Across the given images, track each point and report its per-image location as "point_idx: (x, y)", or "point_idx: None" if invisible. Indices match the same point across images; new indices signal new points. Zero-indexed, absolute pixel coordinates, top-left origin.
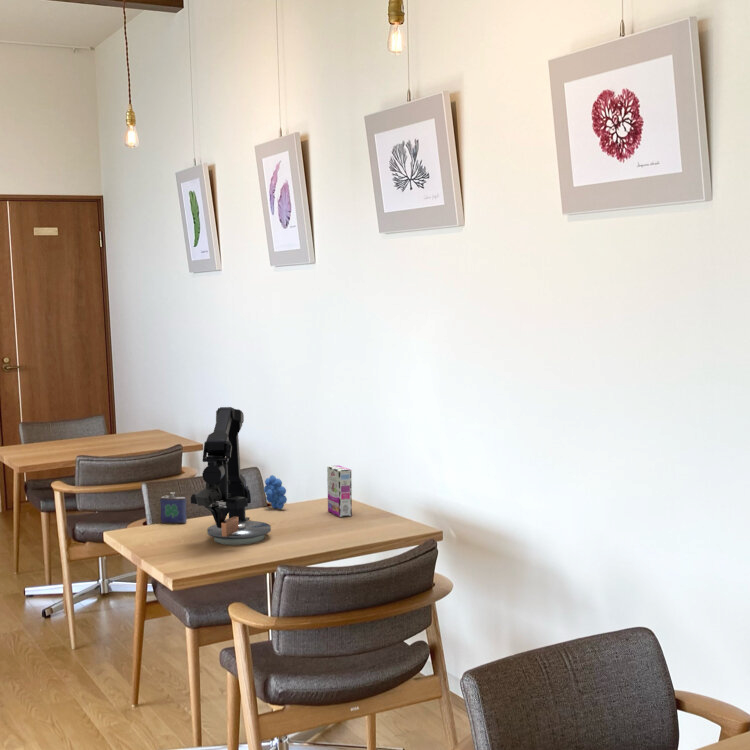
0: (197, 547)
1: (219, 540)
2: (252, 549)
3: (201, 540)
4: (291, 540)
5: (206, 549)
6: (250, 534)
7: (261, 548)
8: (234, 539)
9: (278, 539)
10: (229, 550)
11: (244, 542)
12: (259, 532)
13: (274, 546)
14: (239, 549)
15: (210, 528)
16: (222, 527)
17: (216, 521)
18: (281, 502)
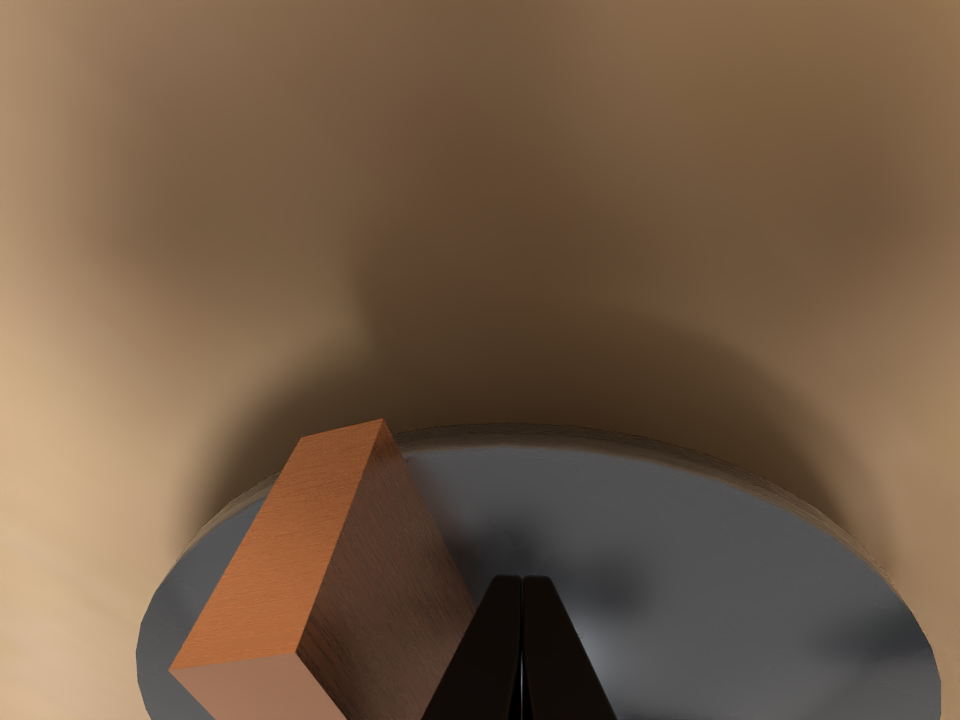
0: (747, 124)
1: None
2: (38, 409)
3: (898, 443)
4: (105, 711)
5: (518, 104)
6: (151, 626)
7: (17, 475)
8: None
9: None
10: (189, 245)
11: None
12: (160, 704)
13: (11, 565)
14: (141, 344)
15: (883, 654)
16: (311, 548)
17: (557, 705)
18: None
